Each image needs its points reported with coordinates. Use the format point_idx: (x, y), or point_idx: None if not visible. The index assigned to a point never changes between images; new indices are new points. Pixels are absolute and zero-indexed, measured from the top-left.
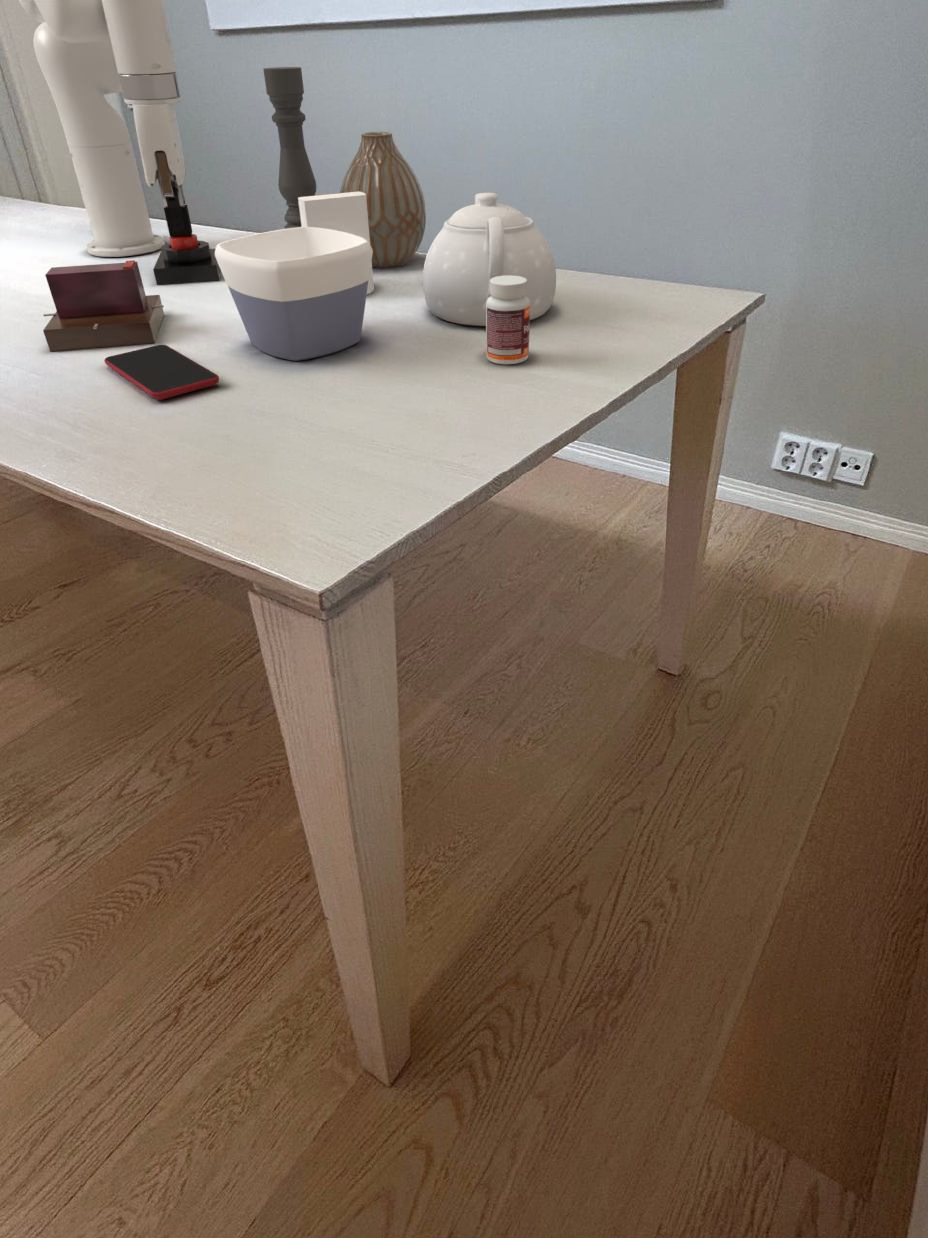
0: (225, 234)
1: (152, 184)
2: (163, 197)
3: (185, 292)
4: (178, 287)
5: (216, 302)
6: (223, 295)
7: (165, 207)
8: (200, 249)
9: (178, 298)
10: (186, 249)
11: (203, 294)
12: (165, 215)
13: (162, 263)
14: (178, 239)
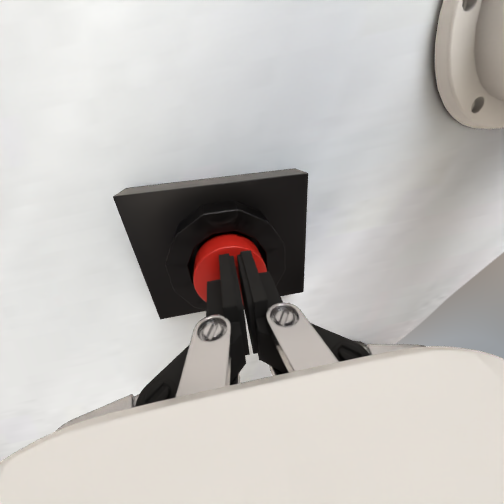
0: (500, 236)
1: (204, 391)
2: (186, 363)
3: (68, 263)
4: (108, 240)
5: (5, 329)
6: (59, 328)
7: (197, 324)
8: (192, 305)
9: (15, 260)
10: (180, 282)
11: (59, 297)
12: (221, 289)
13: (176, 207)
14: (193, 278)
